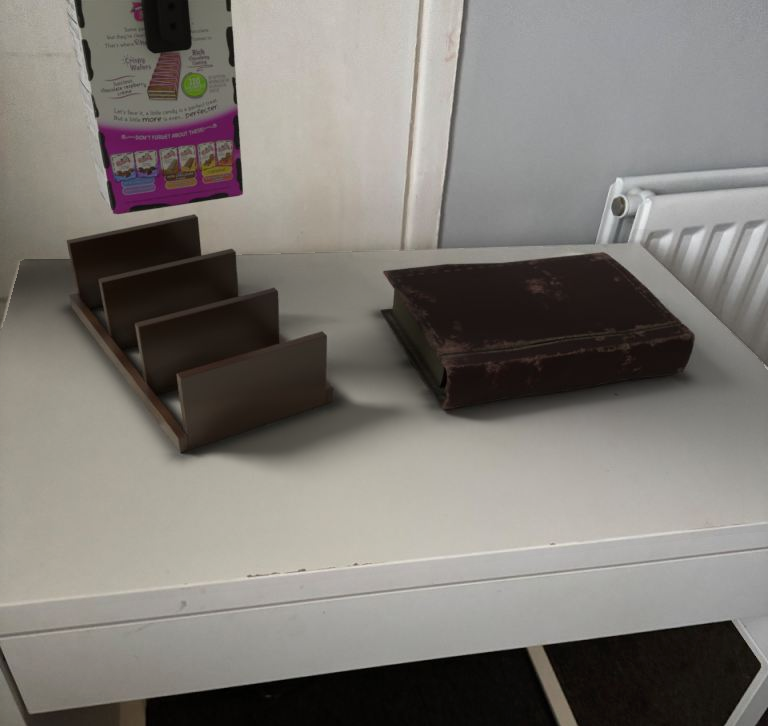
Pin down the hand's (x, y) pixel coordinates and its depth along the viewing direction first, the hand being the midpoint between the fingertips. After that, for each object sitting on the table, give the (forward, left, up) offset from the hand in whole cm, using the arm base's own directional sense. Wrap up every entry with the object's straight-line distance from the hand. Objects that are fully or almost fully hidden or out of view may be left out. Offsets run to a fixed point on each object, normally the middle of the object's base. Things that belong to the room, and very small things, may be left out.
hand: (152, 36), depth 61 cm
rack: (+2, 0, -26) cm, 26 cm away
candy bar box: (0, 0, -12) cm, 12 cm away
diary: (+16, +29, -26) cm, 42 cm away
